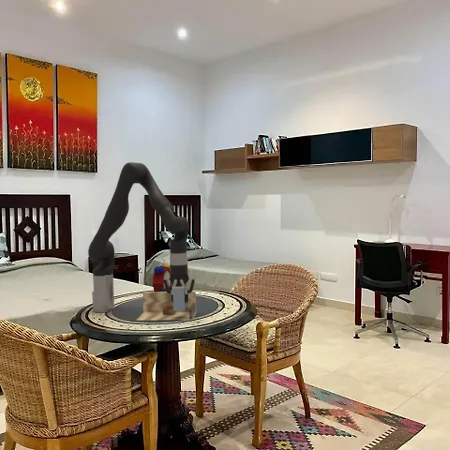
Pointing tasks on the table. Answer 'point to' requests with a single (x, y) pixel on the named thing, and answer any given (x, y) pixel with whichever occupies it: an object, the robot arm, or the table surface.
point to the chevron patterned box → (166, 307)
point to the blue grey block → (179, 298)
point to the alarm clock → (160, 276)
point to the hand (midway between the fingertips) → (180, 302)
